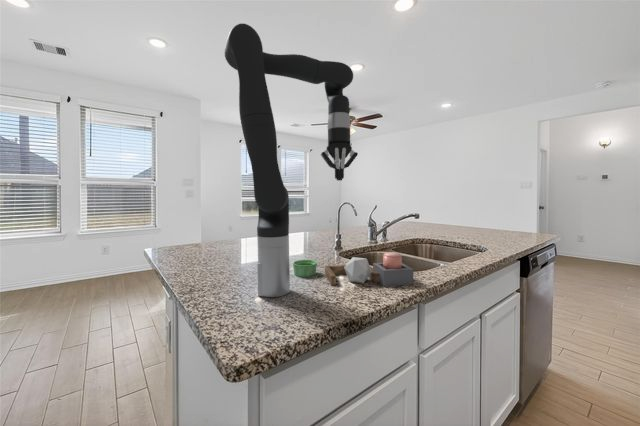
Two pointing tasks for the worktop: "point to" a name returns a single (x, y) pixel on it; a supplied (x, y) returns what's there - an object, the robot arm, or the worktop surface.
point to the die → (358, 270)
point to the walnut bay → (339, 269)
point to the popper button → (392, 260)
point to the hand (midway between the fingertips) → (339, 180)
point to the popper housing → (394, 275)
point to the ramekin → (304, 268)
